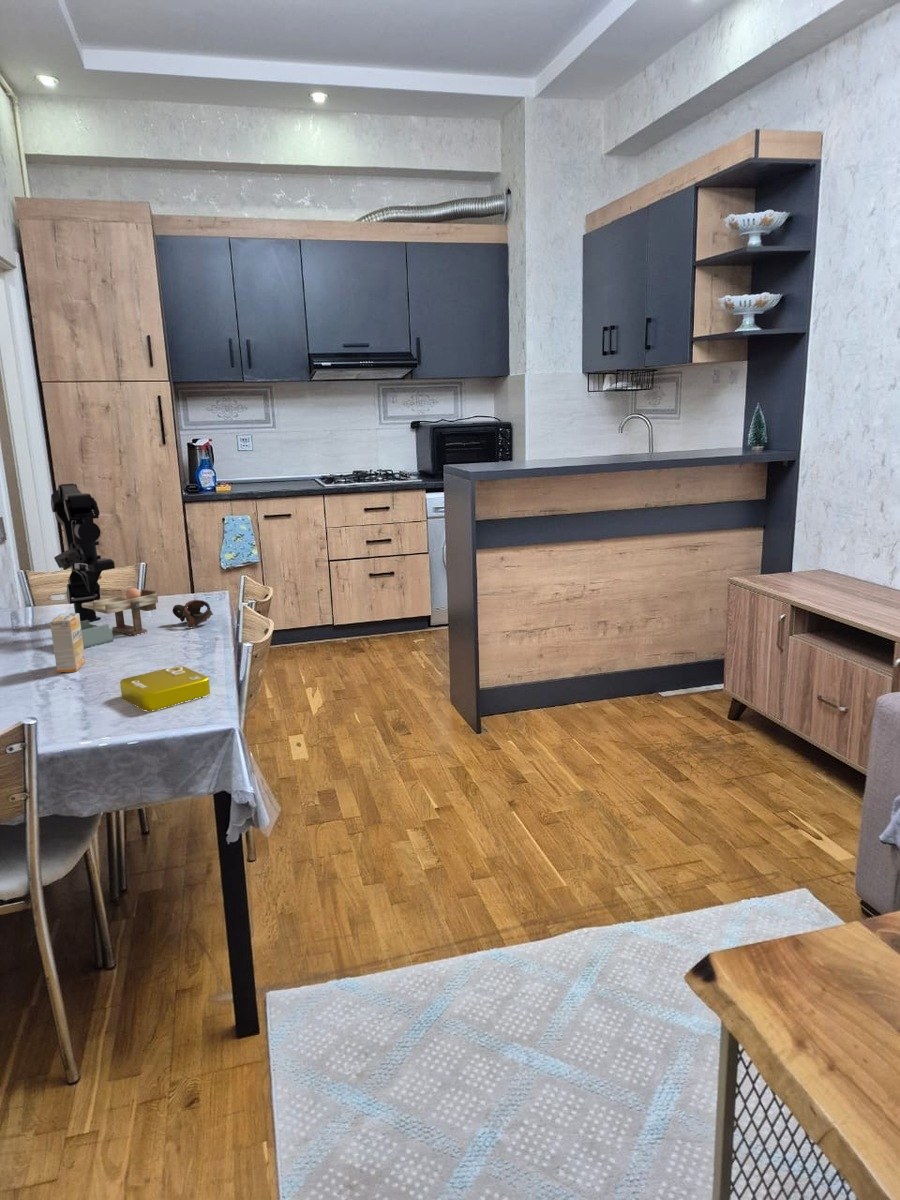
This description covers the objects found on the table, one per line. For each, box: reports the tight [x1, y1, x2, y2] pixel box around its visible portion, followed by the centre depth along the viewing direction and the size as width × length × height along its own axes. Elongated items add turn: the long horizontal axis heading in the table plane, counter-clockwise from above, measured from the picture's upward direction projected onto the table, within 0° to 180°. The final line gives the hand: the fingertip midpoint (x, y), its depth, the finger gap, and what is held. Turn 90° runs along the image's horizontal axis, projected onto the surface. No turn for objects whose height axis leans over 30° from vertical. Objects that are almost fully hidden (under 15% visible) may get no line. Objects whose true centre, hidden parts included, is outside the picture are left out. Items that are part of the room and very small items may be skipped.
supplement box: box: [49, 612, 86, 674], centre depth 197 cm, size 8×5×13 cm, turn 9°
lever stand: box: [111, 601, 148, 636], centre depth 230 cm, size 4×11×10 cm, turn 54°
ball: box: [125, 587, 141, 599], centre depth 231 cm, size 4×4×4 cm
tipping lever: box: [82, 588, 159, 615], centre depth 232 cm, size 16×15×5 cm
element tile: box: [119, 665, 211, 712], centre depth 175 cm, size 15×15×5 cm
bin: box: [80, 620, 114, 649], centre depth 220 cm, size 11×11×5 cm
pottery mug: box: [171, 599, 214, 628], centre depth 237 cm, size 12×10×8 cm
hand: (91, 592), depth 230 cm, fingers closed
